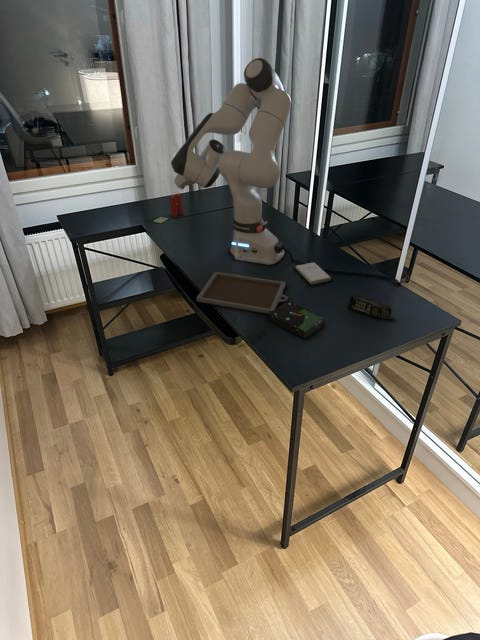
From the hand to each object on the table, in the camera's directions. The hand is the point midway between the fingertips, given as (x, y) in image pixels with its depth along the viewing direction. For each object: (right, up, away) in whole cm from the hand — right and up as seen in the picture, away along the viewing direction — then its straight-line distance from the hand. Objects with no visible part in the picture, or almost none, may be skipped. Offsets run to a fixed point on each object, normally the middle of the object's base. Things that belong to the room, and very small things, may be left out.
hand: (190, 185), depth 192 cm
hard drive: (+50, -43, -29) cm, 72 cm away
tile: (-15, -13, +13) cm, 24 cm away
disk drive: (+40, -61, -53) cm, 91 cm away
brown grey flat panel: (+24, -51, -40) cm, 69 cm away
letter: (-8, -9, +17) cm, 21 cm away
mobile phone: (+66, -58, -50) cm, 101 cm away
